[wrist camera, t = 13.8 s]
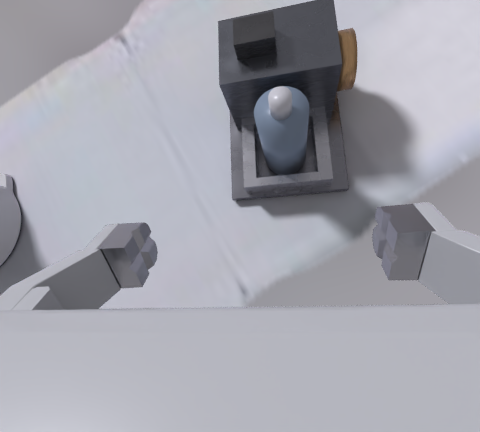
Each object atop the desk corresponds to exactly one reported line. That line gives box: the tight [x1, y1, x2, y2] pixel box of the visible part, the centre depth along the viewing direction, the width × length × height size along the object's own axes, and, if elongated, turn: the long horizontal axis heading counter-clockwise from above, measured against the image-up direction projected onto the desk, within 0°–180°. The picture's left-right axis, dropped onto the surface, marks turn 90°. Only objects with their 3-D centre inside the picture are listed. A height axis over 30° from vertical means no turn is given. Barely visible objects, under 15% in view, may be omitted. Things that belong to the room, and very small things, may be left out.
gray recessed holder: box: [218, 0, 357, 200], centre depth 31 cm, size 15×18×12 cm
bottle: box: [254, 86, 309, 175], centre depth 29 cm, size 5×5×12 cm
